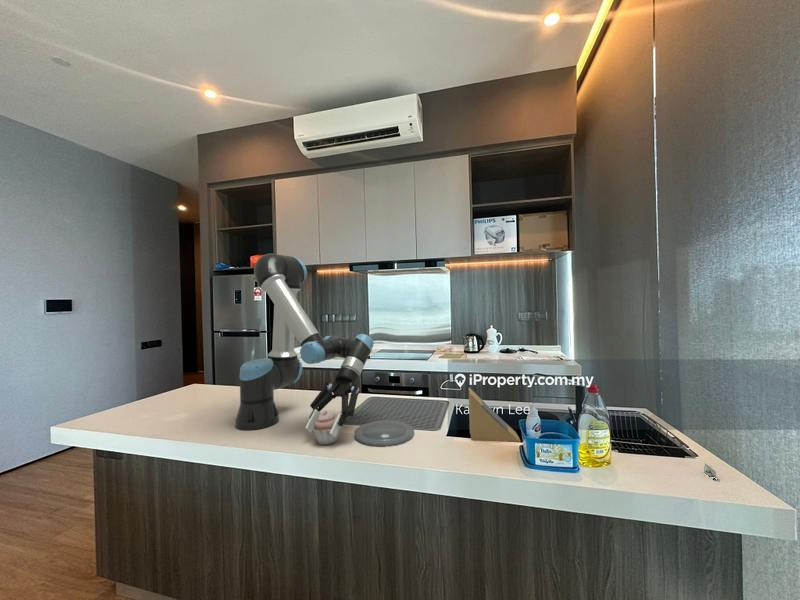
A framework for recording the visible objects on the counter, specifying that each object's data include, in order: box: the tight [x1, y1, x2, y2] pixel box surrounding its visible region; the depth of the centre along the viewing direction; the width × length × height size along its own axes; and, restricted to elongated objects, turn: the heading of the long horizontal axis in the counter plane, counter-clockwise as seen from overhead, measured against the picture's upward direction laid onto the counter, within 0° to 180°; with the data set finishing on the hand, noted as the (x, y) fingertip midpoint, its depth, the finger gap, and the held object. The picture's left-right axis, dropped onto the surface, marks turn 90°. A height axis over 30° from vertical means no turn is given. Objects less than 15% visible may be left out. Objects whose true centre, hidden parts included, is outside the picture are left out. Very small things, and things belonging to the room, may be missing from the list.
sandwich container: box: [468, 387, 521, 443], centre depth 110 cm, size 9×15×15 cm, turn 82°
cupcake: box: [312, 409, 342, 446], centre depth 109 cm, size 9×9×10 cm
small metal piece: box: [703, 463, 719, 480], centre depth 83 cm, size 6×2×3 cm, turn 163°
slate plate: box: [353, 419, 415, 448], centre depth 114 cm, size 20×20×1 cm
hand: (320, 432), depth 106 cm, fingers closed on cupcake, 9 cm apart
